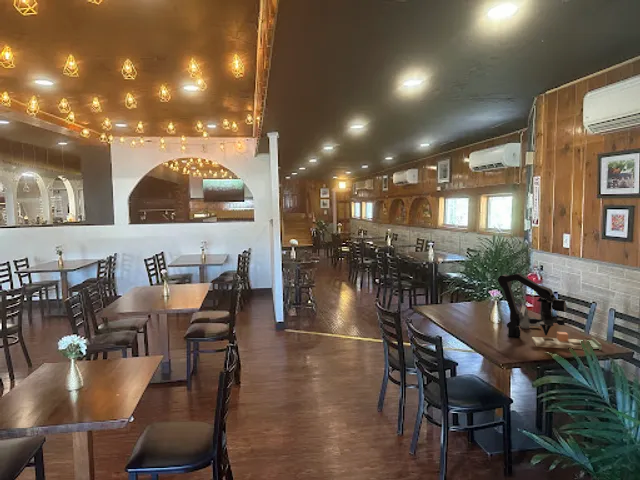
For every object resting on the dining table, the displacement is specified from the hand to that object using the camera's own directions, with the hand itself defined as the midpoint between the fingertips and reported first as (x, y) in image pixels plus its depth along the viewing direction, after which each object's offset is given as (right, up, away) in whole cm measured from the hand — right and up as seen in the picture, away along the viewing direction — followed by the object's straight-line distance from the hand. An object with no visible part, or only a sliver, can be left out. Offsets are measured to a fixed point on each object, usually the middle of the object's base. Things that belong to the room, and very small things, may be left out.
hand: (545, 335), depth 254 cm
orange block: (+9, -2, -2) cm, 9 cm away
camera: (+7, -3, +32) cm, 33 cm away
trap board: (+8, -5, -6) cm, 11 cm away
